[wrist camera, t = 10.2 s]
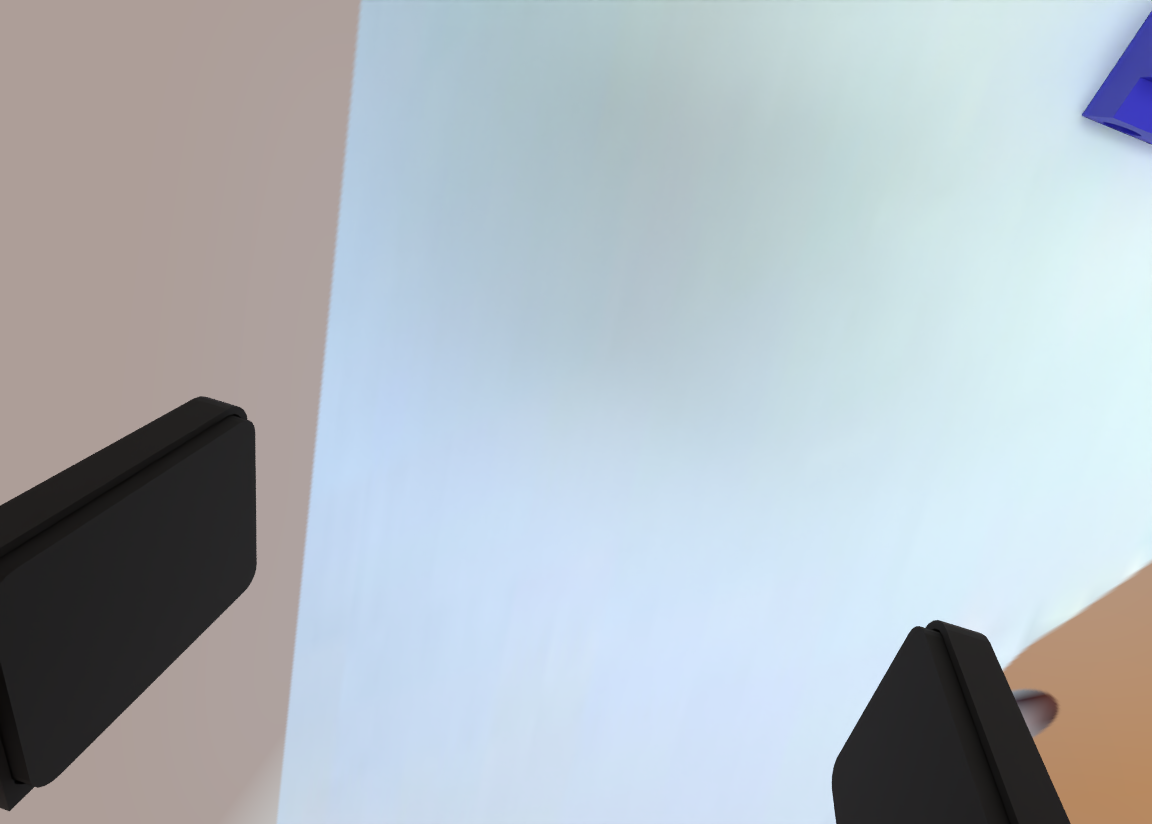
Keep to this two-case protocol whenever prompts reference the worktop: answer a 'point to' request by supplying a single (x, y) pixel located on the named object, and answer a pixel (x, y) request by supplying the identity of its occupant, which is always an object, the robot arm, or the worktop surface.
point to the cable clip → (1128, 90)
